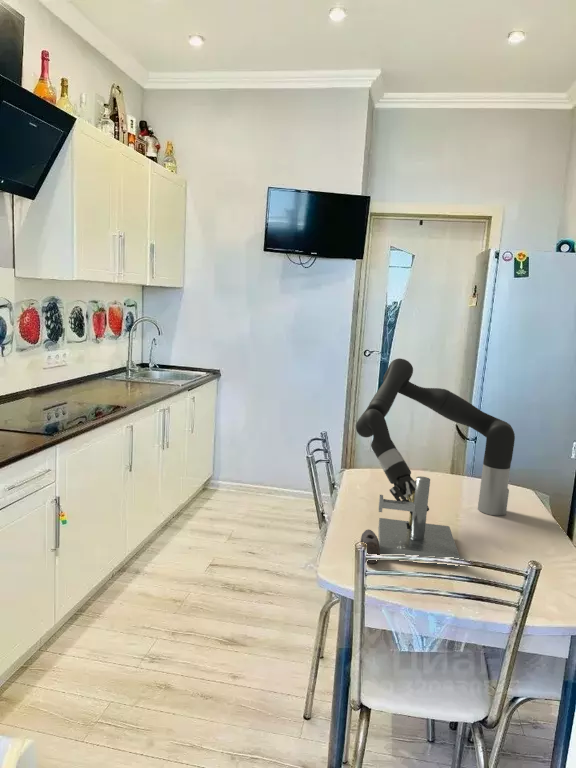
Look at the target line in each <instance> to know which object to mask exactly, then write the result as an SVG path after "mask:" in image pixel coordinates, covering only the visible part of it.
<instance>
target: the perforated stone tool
mask: <svg viewBox="0 0 576 768" xmlns="http://www.w3.org/2000/svg"><path fill="white" fill-rule="evenodd" d="M360 542H364V543H366V544H367V553H368V554H377V555H380V545H379V537H378V536H377V535H376V533H375V532H374V531H373V530H372V529H365V530H364V531H363V533H362V534H361V538H360ZM379 561H380V559H379V560H377V561H376V560H368V561H367V562H366V563H370V564H377V563H379Z"/></svg>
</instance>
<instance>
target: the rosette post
mask: <svg viewBox="0 0 576 768" xmlns="http://www.w3.org/2000/svg"><path fill="white" fill-rule="evenodd" d="M415 481H416V486H415V496H414V503H413V502H404V501H402V500H401V501H397V500H396V499H395V500H393V499H386V498H384V495H383V494H379V498H378V499H379V500H378V513H383V509H386V510H393V511H396V510H397V511H403V512H409V511H410V512H413V515H412V525H411V526H410V525H409V520H401V519H392V518H383V517H378V518H379V520H378V527H377V530H378V541H379V545H380V554H405V555H419V556H435V557H454V558H459V559H460V558H461V557H460V553H459V551H458V547H457V545H456V542H455V539H454V536H453V533H452V531H451V528H450V525H443V524H434V523H427V514H428V511H427V506H428V505H429V496H430V486H431V478H429V477H428V476H427V477H426V476H422V475H421V476H416V478H415ZM428 507H429V506H428ZM410 512H409V513H410ZM413 563H416V564H418V563H417V562H413ZM420 564H423V565H430V566H431V565H432V566H438V567H446V568H452V569H459V567H460V566H455V565H447V564H437V563H420Z"/></svg>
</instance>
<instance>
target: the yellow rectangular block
mask: <svg viewBox="0 0 576 768" xmlns="http://www.w3.org/2000/svg"><path fill="white" fill-rule="evenodd" d="M414 496H415V491H412V495H411V496H410V497H411V500H412V502H413V503H414ZM408 521H409V525H410V526H411V525H412V515H411V513H410V512H409V516H408Z"/></svg>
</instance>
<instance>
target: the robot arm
mask: <svg viewBox="0 0 576 768" xmlns="http://www.w3.org/2000/svg"><path fill="white" fill-rule="evenodd" d="M413 373H414V368H413V365H412V364H411V362H410V361H409V360H406V359H404V358H395V359H394V360H392V361H391V362H390V363H389V365H388V367H387V369H386V371H385V373H384V375H383V378H382V380H383V383H382V384H381V385H380V387H379V388H378V390H377V392H375V394H374V395H373V396H372V398H371V400H370V401H369V404H368V406H367V408H366V409H365V410H364V411H363V413H362V414H361V415H360V417H359V418H358V419H357V421H356V424H355V429H356V432H357V434H358V435H359V436H360V437H363V438H370V437H373V439H372V441H371V444H370V447H371V449H372V451H373V453H374V454H375V457H376V458H377V460H378V462H379V465H380V467H381V469H382V470H383V472H384V475H385V476H386V477H387V479H388V482H389V483H390V484H391V485H393V486H392V487H391V488H390V489H389V493H390V494H391V495H392V496H393V497H394V499H395V500H396V501H404V502H412V500H411V495H412V491H415V486H416V480H414V479H413V478H412V476H411V474H412V471H411V469H410V467H409V466H408V464H407V463H406V461H405V459H404V457H403V455H402V454H401V453H400V451H399V450H398V448H397V447H396V445H395V443H394V442H393V440H392V438H391V435H390V430H389V428H388V424H387V421H386V418H385V417H386V416H387V415H388V413H389V412H390V410H391V407H392V406H393V404H394V402H395V400H396V397H397V395H398V393H399V394H400V395H402V396H405V397H407V398H409V399H411V400H413V401H415V402H417V403H419V404H421V405H423V406H425V407H426V408H428V409H431V410H432V411H434V412H435V413H436V414H438V415H440V416H442V417H444V418H446V420H449V421H451V422H455V423H457V424H459V425H464V426H466V427H469V428H471V429H472V430H474V431H476V432H478V433H479V434H481V436H484V437H485V438H486V441H485V448H484V454H483V462H482V464H483V465H482V471H481V480H480V488H479V494H478V495H479V496H478V503H477V504H478V505H477V510H478V511H479V512H481V513H483V514H486V515H489V516H490V515H491V516H506V515H507V511H508V509H507V508H508V501H509V496H510V495H509V494H510V489H509V479H510V471H511V466H512V465H511V464H512V461H513V455H514V447H515V439H516V436H515V431H514V429H513V427H512V426H511V424H510V423H508V422H506V421H505V420H502V419H500V418H497V417H495V416H493V415H490V414H489V413H486V412H484V411H483V410H480V408H478V407H476V406H475V405H474V404H472V403H470V402H468V401H467V400H466V399H463V398H462V397H461V396H459V395H457V394H455V393H453V392H451V391H450V390H448V389H445V388H438V387H437V388H435V387H424V386H423V387H422V386H419V385H416V384H415V383H413V382H411V381H410V380H411V378H412V376H413ZM429 511H430V507H429V506H427V512H429ZM408 512H409V514H410V513H411V515H413V512H410V511H408Z"/></svg>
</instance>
